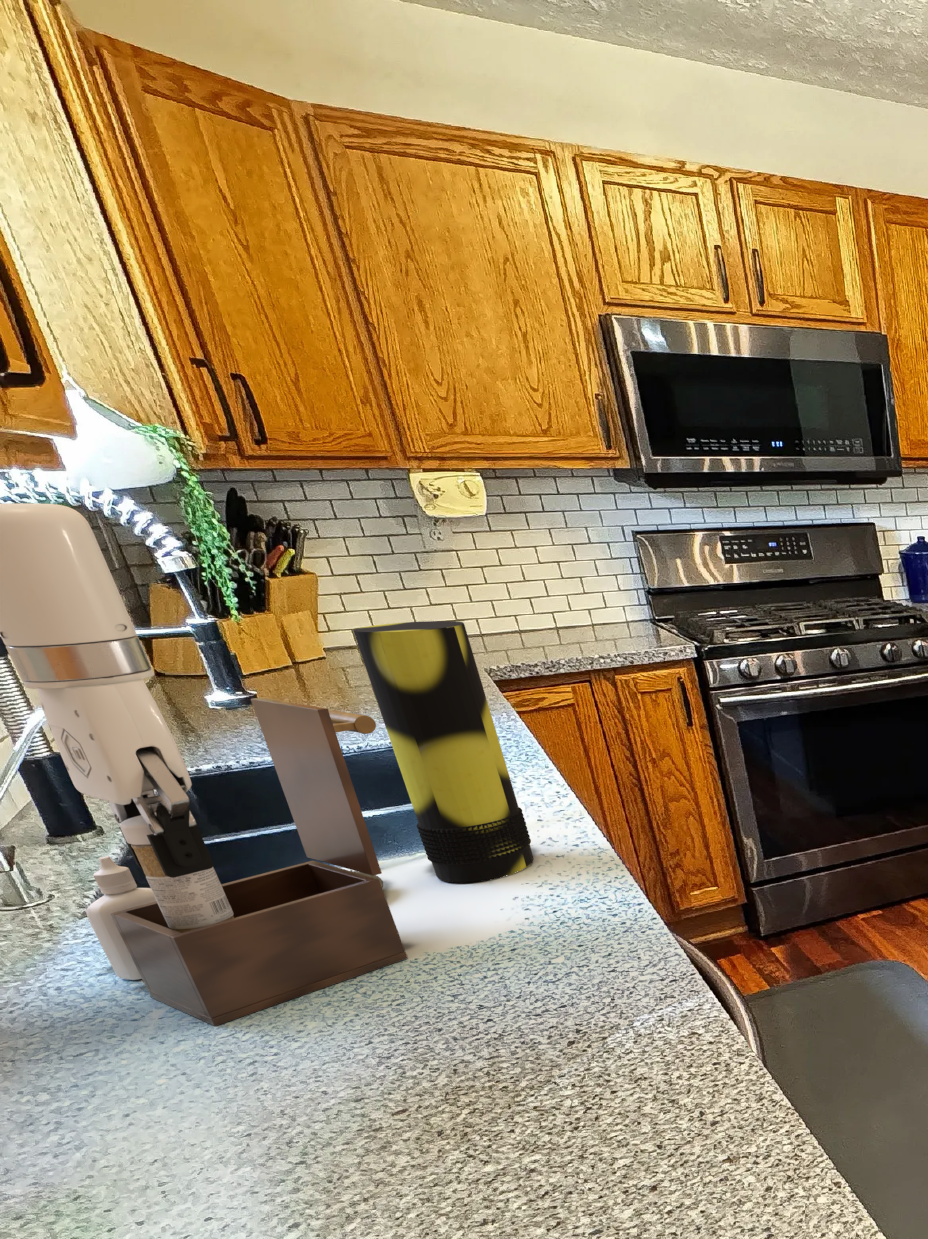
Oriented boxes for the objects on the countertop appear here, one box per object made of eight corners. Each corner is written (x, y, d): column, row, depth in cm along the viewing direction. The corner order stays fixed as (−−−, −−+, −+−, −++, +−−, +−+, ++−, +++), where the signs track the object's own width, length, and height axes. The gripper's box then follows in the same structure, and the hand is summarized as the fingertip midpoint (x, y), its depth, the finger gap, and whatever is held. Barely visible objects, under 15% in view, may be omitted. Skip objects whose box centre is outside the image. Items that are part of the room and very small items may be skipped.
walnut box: (215, 1026, 89) (173, 937, 85) (151, 998, 94) (109, 913, 91) (408, 958, 102) (379, 879, 98) (342, 936, 107) (312, 860, 103)
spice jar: (215, 942, 95) (154, 808, 90) (262, 942, 95) (204, 808, 90) (168, 963, 91) (101, 824, 86) (217, 963, 91) (153, 824, 86)
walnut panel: (317, 709, 92) (386, 700, 96) (250, 698, 97) (318, 690, 101) (372, 875, 98) (435, 859, 102) (306, 857, 103) (368, 842, 108)
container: (515, 849, 133) (446, 618, 121) (551, 865, 127) (482, 624, 115) (420, 872, 125) (336, 627, 113) (454, 891, 119) (368, 634, 107)
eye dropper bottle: (116, 972, 99) (60, 860, 94) (193, 953, 103) (143, 845, 98) (120, 985, 97) (62, 870, 92) (198, 965, 100) (147, 854, 96)
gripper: (-22, 663, 83) (79, 867, 90) (63, 677, 76) (165, 897, 83) (101, 651, 89) (187, 842, 96) (190, 663, 82) (275, 868, 89)
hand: (176, 866), depth 89 cm, fingers closed on spice jar, 4 cm apart
